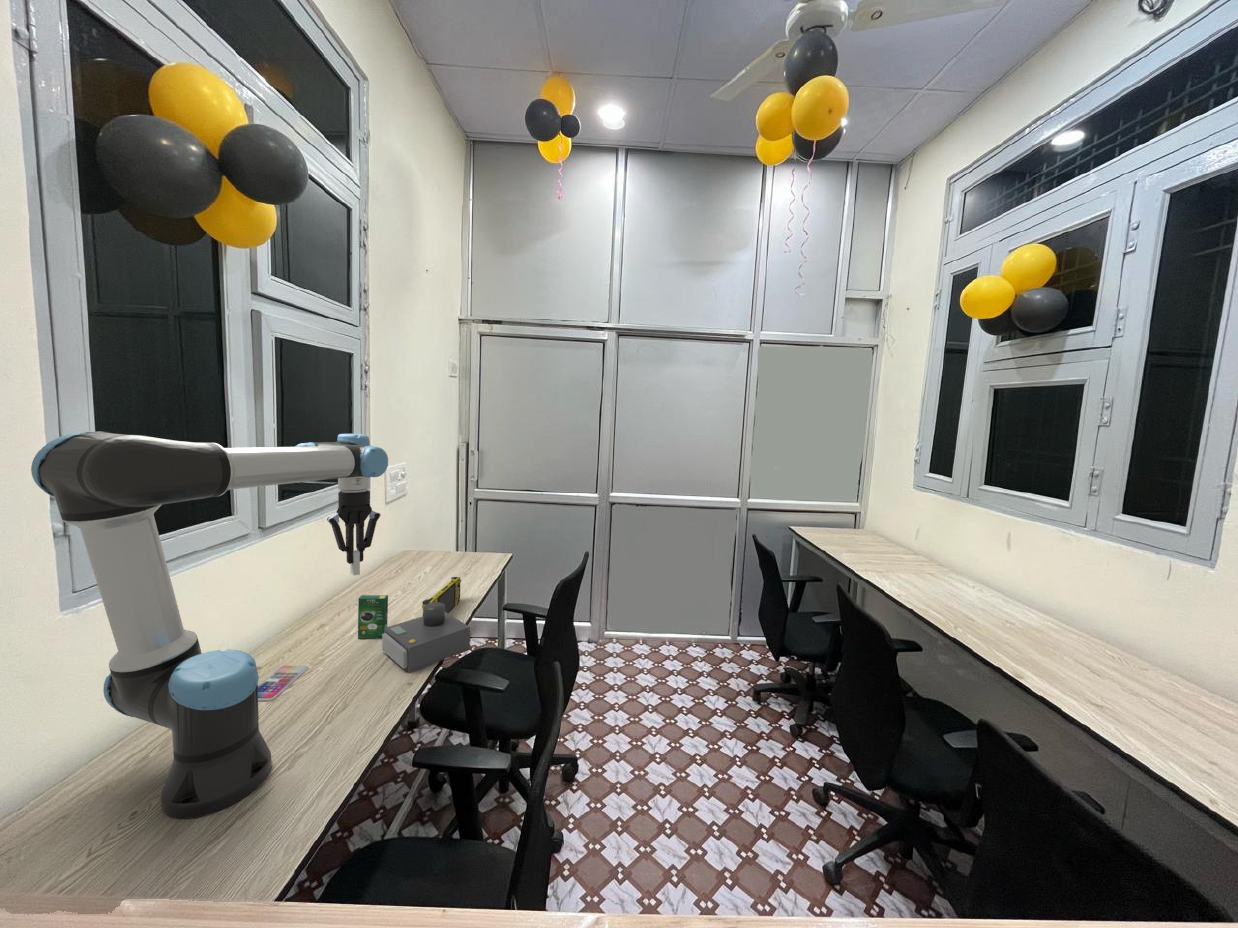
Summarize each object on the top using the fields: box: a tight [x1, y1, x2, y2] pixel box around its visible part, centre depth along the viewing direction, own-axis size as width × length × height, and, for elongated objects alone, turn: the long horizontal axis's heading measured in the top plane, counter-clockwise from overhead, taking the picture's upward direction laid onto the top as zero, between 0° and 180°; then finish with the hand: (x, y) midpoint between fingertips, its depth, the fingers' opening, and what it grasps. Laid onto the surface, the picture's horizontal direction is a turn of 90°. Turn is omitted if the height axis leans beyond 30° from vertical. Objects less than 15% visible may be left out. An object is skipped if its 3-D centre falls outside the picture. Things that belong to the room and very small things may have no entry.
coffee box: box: [357, 594, 389, 640], centre depth 138 cm, size 8×3×13 cm, turn 99°
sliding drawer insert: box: [381, 633, 408, 670], centre depth 131 cm, size 17×14×5 cm
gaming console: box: [421, 576, 462, 614], centre depth 156 cm, size 26×4×10 cm, turn 178°
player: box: [384, 602, 471, 674], centre depth 132 cm, size 18×16×12 cm
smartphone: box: [258, 665, 310, 703], centre depth 114 cm, size 7×1×15 cm
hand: (355, 573), depth 125 cm, fingers closed
